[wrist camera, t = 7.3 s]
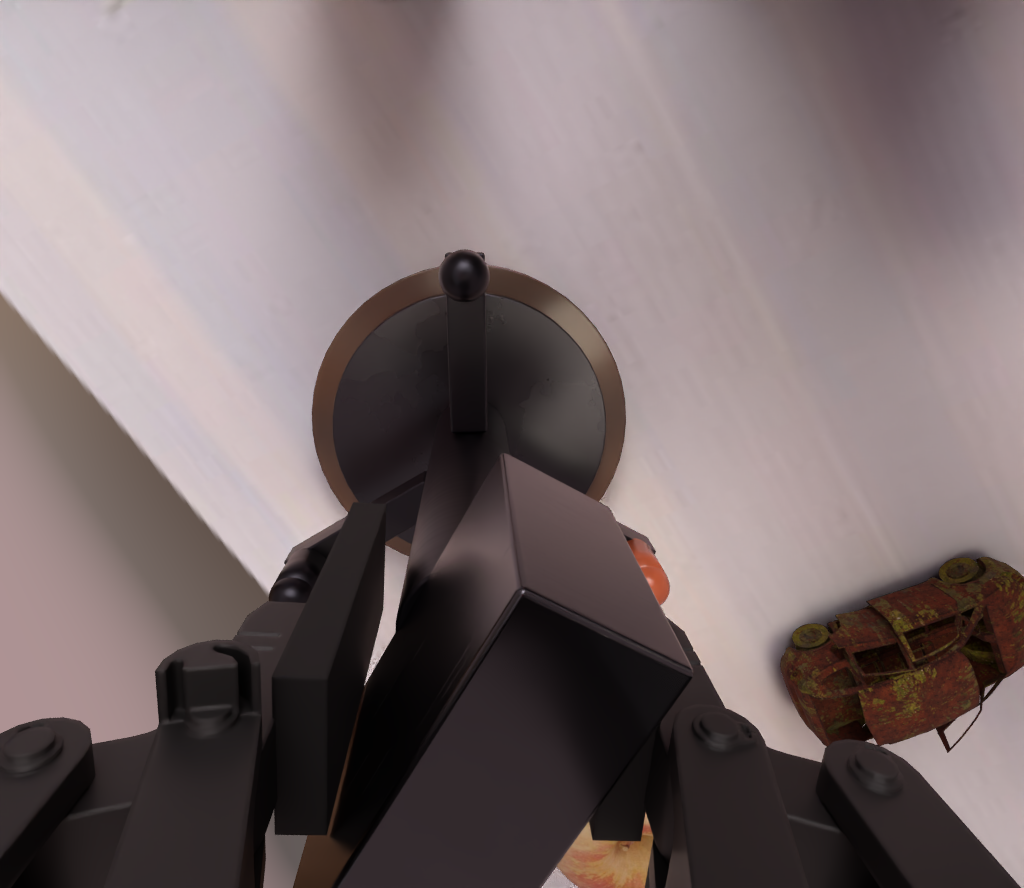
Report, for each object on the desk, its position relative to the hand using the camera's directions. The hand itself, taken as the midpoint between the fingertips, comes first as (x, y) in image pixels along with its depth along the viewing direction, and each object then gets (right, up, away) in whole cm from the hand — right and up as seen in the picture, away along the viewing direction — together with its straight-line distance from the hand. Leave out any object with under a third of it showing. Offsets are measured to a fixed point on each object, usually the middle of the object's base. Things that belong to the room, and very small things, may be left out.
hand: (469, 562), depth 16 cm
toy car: (+20, -7, +18) cm, 28 cm away
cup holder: (0, +3, +12) cm, 13 cm away
